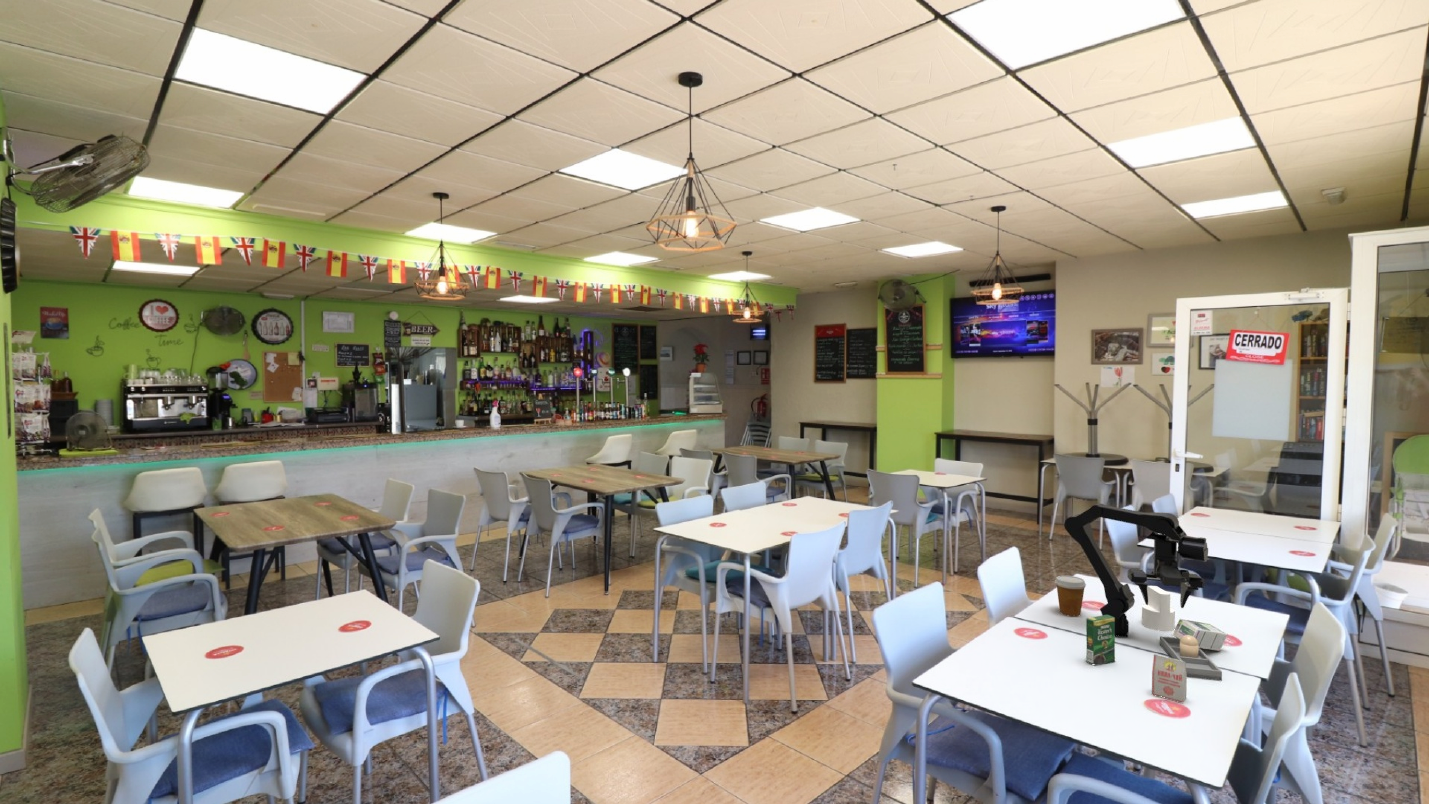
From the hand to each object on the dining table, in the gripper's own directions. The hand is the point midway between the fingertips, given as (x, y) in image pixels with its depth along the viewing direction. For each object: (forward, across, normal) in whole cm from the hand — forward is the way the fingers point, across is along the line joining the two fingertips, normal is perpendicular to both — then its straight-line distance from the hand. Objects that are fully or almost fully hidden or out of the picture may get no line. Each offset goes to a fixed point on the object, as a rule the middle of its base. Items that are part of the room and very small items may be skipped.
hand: (1164, 606), depth 205 cm
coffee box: (+12, -21, -20) cm, 31 cm away
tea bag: (+12, -8, -38) cm, 41 cm away
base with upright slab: (+12, +3, +17) cm, 21 cm away
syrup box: (+9, +14, +2) cm, 16 cm away
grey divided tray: (+12, +3, -12) cm, 17 cm away
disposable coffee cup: (+12, -22, +22) cm, 34 cm away
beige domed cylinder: (+11, +3, -12) cm, 16 cm away
